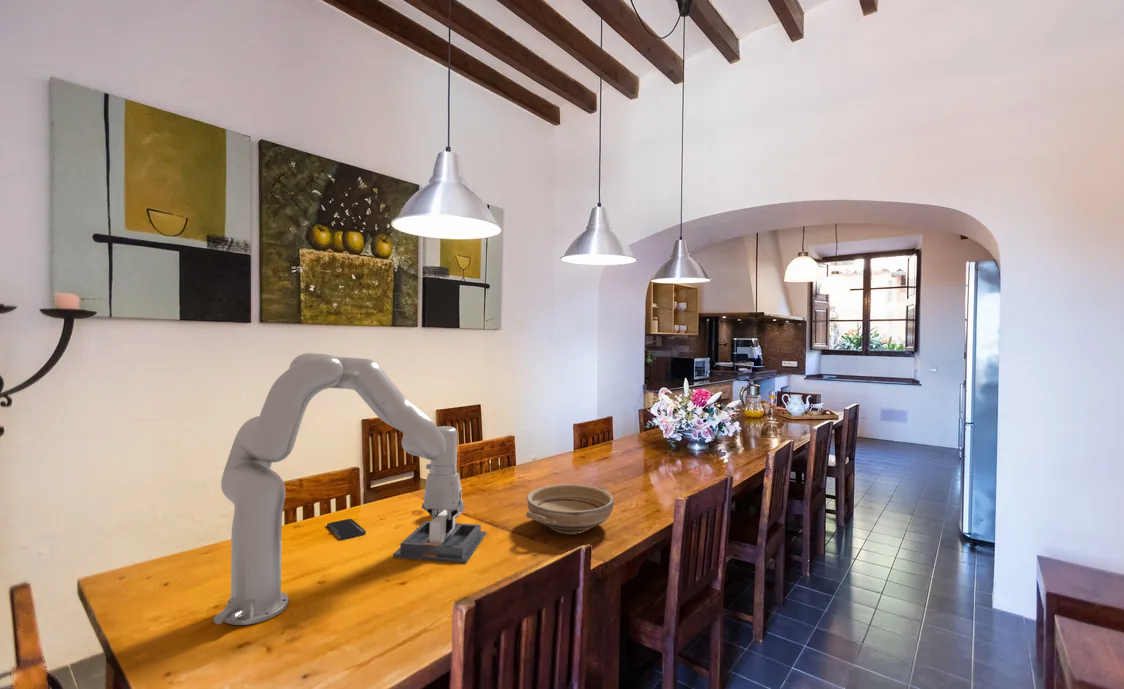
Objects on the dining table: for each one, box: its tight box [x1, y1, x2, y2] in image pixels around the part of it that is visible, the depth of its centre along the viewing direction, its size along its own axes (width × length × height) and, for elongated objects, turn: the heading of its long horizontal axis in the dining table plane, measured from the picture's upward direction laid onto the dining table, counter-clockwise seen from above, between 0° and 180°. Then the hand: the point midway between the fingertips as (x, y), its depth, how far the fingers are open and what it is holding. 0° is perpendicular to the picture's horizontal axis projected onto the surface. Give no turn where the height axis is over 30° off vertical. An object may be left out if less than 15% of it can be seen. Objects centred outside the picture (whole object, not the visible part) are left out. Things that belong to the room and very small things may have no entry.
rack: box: [392, 520, 487, 564], centre depth 147 cm, size 20×21×4 cm
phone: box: [326, 518, 367, 541], centre depth 158 cm, size 8×1×15 cm
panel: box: [429, 510, 456, 545], centre depth 147 cm, size 13×3×7 cm, turn 173°
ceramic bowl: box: [525, 483, 615, 535], centre depth 164 cm, size 37×29×10 cm
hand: (442, 530), depth 147 cm, fingers closed on panel, 2 cm apart
